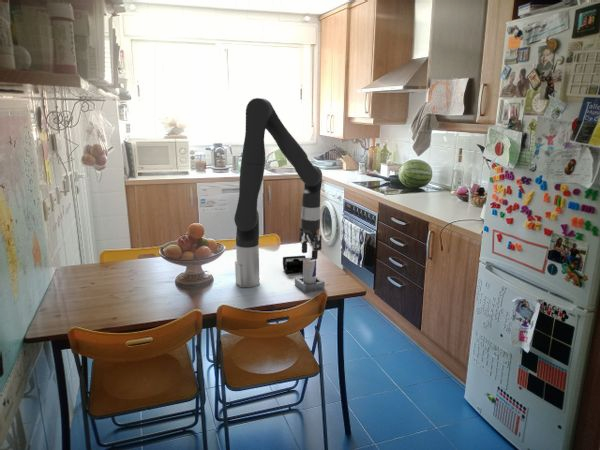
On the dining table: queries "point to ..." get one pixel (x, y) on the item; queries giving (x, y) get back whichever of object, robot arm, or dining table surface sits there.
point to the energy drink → (309, 271)
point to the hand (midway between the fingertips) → (309, 255)
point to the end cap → (293, 264)
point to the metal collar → (309, 285)
